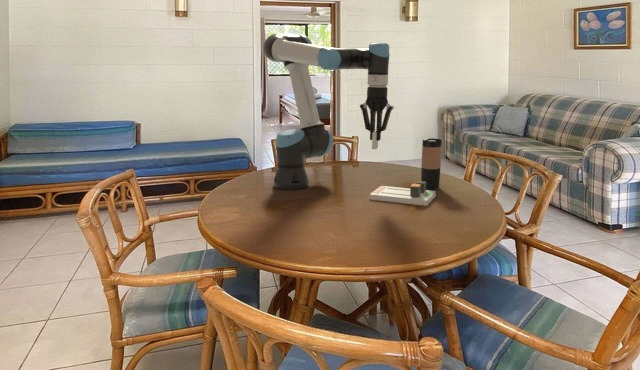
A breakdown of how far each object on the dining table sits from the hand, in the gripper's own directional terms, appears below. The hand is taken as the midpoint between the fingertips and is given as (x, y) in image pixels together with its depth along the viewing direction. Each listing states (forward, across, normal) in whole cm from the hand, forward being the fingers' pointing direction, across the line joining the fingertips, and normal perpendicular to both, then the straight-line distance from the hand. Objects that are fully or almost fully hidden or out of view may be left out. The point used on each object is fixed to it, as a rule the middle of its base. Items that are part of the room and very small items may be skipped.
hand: (374, 148), depth 187 cm
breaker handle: (+16, +18, -3) cm, 24 cm away
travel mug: (+18, +18, +19) cm, 32 cm away
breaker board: (+18, +12, 0) cm, 22 cm away
